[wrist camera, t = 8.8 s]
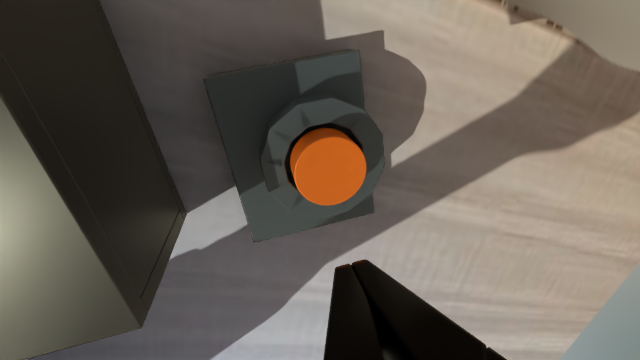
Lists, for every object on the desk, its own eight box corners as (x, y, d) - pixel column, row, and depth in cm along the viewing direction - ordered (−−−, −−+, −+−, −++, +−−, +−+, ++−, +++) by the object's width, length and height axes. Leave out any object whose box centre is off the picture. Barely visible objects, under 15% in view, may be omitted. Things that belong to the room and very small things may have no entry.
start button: (359, 182, 17) (370, 196, 16) (297, 197, 17) (301, 213, 15) (352, 120, 16) (363, 129, 14) (283, 135, 15) (287, 145, 14)
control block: (369, 200, 21) (389, 226, 18) (253, 228, 20) (254, 261, 17) (354, 48, 17) (377, 48, 14) (207, 75, 16) (196, 82, 13)
